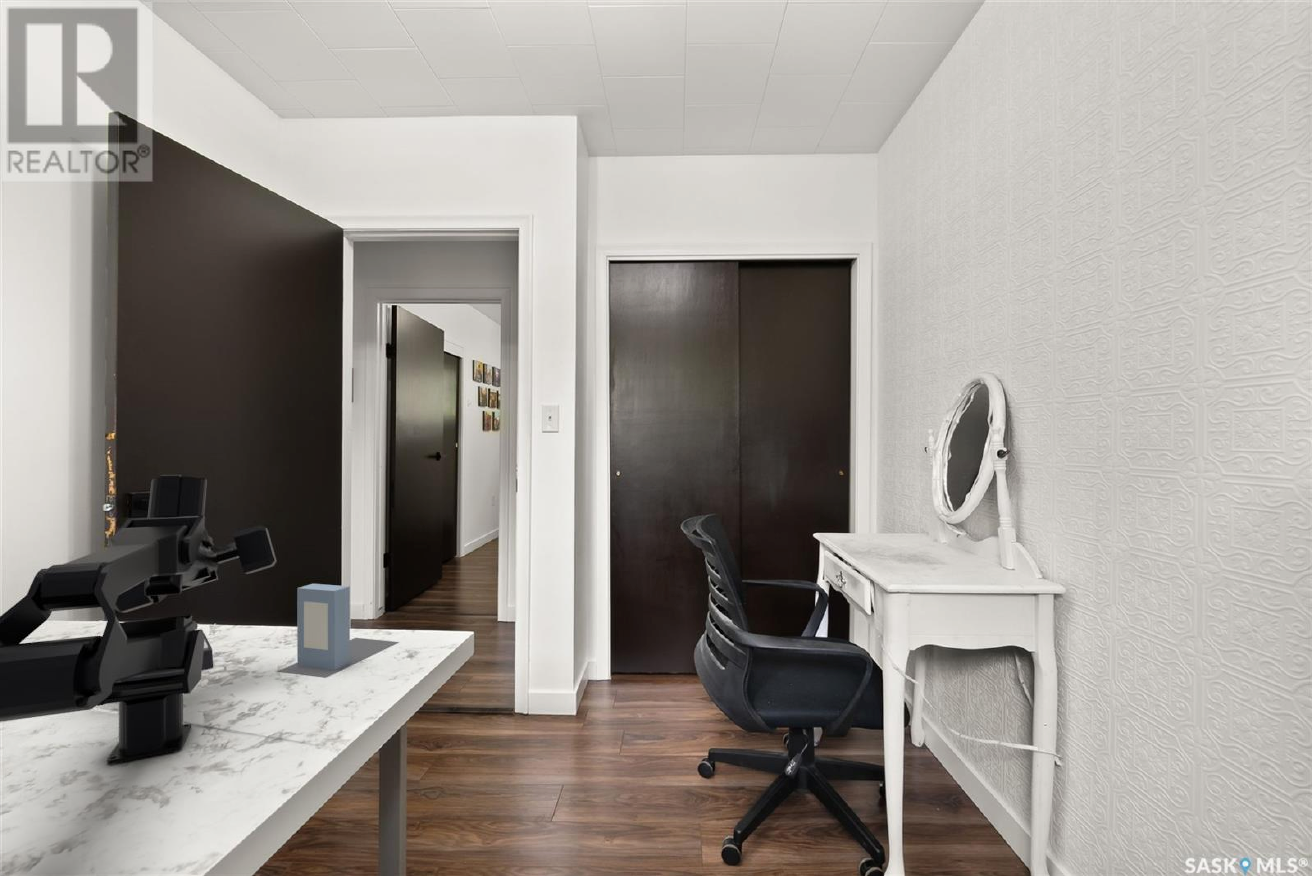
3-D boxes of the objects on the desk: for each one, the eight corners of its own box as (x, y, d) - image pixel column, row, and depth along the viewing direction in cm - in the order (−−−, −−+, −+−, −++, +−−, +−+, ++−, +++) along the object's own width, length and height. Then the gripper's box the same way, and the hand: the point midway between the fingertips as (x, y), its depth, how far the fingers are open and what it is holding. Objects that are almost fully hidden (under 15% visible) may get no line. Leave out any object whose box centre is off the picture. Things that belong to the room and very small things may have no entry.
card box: (334, 670, 92) (334, 591, 92) (297, 666, 94) (297, 588, 94) (349, 663, 95) (349, 586, 95) (313, 659, 97) (313, 583, 97)
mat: (325, 680, 89) (325, 677, 89) (276, 673, 92) (276, 671, 92) (399, 644, 105) (399, 642, 105) (355, 640, 107) (355, 637, 107)
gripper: (246, 482, 85) (266, 504, 99) (74, 526, 76) (122, 543, 90) (267, 558, 83) (285, 570, 97) (93, 611, 75) (140, 616, 88)
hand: (211, 572), depth 93 cm, fingers open, 9 cm apart
